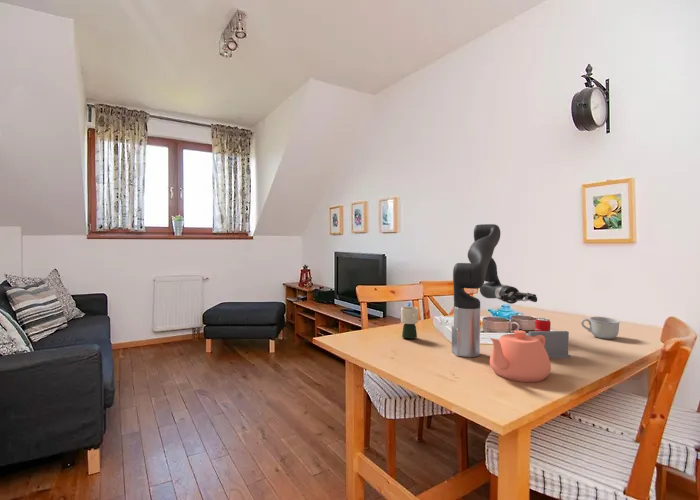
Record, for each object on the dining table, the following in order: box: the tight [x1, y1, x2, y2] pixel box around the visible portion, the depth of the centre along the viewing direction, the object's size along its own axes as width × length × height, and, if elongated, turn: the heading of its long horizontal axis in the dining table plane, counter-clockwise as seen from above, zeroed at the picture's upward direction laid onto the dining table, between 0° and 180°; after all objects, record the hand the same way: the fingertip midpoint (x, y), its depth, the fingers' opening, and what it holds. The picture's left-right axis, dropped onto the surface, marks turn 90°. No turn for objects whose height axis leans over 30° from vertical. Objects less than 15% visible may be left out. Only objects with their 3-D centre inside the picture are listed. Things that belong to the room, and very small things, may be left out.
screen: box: [527, 330, 571, 359], centre depth 135 cm, size 14×4×9 cm, turn 94°
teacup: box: [580, 316, 621, 340], centre depth 163 cm, size 14×11×8 cm
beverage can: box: [534, 317, 552, 331], centre depth 142 cm, size 5×5×12 cm
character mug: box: [400, 306, 419, 340], centre depth 160 cm, size 11×7×13 cm, turn 14°
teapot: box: [489, 329, 552, 383], centre depth 117 cm, size 25×17×13 cm
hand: (525, 299), depth 154 cm, fingers open, 8 cm apart
